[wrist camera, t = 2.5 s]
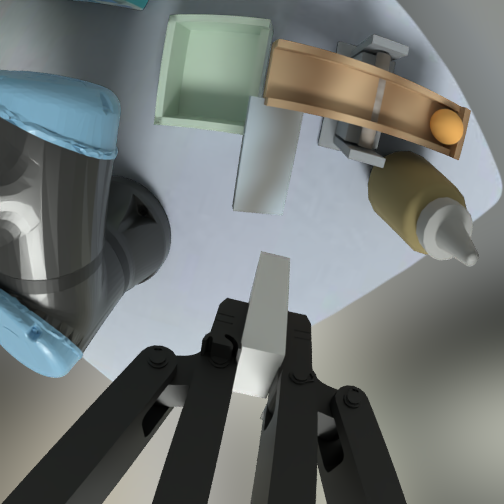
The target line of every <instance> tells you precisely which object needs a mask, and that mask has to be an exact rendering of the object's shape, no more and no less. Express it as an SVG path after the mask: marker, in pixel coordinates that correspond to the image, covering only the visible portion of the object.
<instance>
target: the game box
mask: <svg viewBox="0 0 504 504" xmlns="http://www.w3.org/2000/svg"><path fill="white" fill-rule="evenodd" d="M75 1H85V2H94V3H102V4H108V5H115V6H120V7H126V8H131V9H136V10H141V11H142V10H143V9H144V8H145V6H146V4H147V2H148V0H75Z"/></svg>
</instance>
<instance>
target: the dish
mask: <svg viewBox="0 0 504 504" xmlns="http://www.w3.org/2000/svg"><path fill="white" fill-rule="evenodd" d="M272 37H273V27H272V24H271V20H270V19H262V18H253V17H242V16H228V15H203V14H181V15H170V16H169V21H168V26H167V32H166V37H165V43H164V49H163V55H162V62H161V69H160V76H159V83H158V91H157V100H156V109H155V119H154V124H155V125H167V126H178V127H187V128H196V129H205V130H213V131H220V132H227V133H234V134H240V135H243V132H244V126H245V119H246V113H247V107H248V101H249V96H254V97H261V98H262V93H263V87H264V81H265V76H266V70H267V64H268V59H269V53H270V48H271V42H272Z"/></svg>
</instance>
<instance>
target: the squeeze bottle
mask: <svg viewBox="0 0 504 504" xmlns="http://www.w3.org/2000/svg"><path fill="white" fill-rule="evenodd" d="M384 158H385V159H386V160H385V163H384V167H383V168H381V167H377V166H373V168H372V171H371V174H370V177H369V181H368V198H369V201H370V203H371V205H372V207H373V210H374V211H375V212H376V213H377V214H378V215H379V216H380V217H381V218H382V219H383V220H384V221H385V222H386V223H387V224H388V225H389V226H390V227H391V228H392V229H393V230H394V231H395V232H396V233H397V234H398V235H399V236H400V237H401V238H402V239H403V240H404V241H405V242H406V243H407V244H408V245H409V246H410V247H411V248H412V249H413V250H414V251H417V252H420V253H423V254H429V255H430V256H431V257H432V258H435V259H438V260H448V259H451V258H453V257H454V258H456V259H457V260H459V261H461V262H462V263H464V264H465V265H467V266H473V265H474V264H475V263H476V262H477V260H478V258H479V254H478V252H477V250H476V248H475V246H474V244H473V242H472V240H471V235H472V229H473V223H472V218H471V215H470V214H469V212H468V211H467V209H466V204H465V200H464V197H463V195H462V194H461V193H460V192H459V190H458V189H457V188H456V186H454V185H453V184H452V183H451V182H450V181H449V180H448V179H447V178H446V177H445V176H444V175H443V174H442V173H441V172H439V171H438V170H437V169H436V168H435V167H434V166H433V165H432V164H430V163H429V162H428V161H427V160H426V159H425V158H423V157H422V156H420V155H418V154H415V153H413V152H411V151H397V152H394V153H392V154H389V155H387V156H385V157H384Z"/></svg>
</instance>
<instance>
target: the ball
mask: <svg viewBox="0 0 504 504" xmlns="http://www.w3.org/2000/svg"><path fill="white" fill-rule="evenodd" d="M430 129H431V132H432V134H433V136H434V137H435V138H436V139H437V140H438V141H439V142H441V143H443V144H447V145H451V144H455V143H457V142H458V141H459V140H460V139H461V137H462V135H463V130H464V128H463V123H462V120H461V119H460V117H459V116H458V115H457V114H456V113H455V112H453V111H452V110H449V109H440V110H438V111H436V112H435V113H434V114H433V115H432V117H431V120H430Z"/></svg>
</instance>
